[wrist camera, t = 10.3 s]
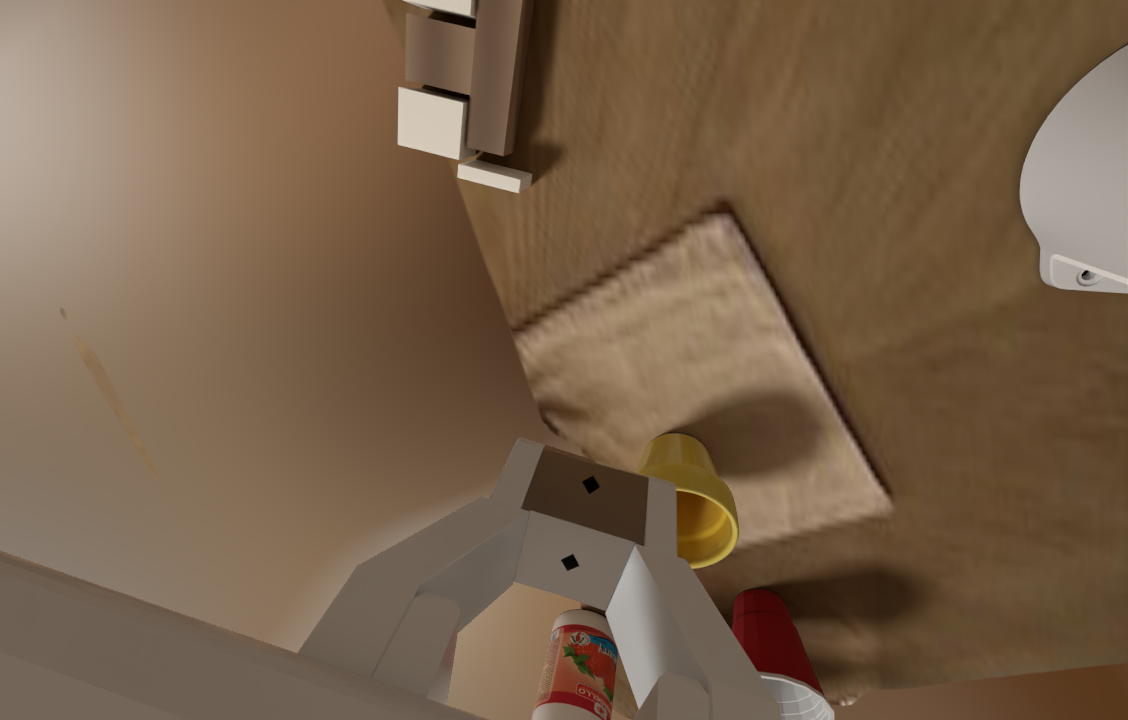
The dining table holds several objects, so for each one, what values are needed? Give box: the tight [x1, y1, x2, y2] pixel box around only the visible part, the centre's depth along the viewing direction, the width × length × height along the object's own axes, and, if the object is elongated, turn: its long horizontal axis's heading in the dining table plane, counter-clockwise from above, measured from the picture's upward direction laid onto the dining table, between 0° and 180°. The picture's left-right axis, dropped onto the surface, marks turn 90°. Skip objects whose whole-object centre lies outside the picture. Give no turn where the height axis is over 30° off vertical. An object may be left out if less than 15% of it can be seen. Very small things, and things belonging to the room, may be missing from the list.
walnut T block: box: [405, 0, 534, 156], centre depth 34 cm, size 8×11×3 cm
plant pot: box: [636, 433, 739, 569], centre depth 45 cm, size 10×10×10 cm
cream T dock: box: [398, 0, 532, 193], centre depth 34 cm, size 10×16×4 cm, turn 168°
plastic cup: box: [731, 589, 834, 720], centre depth 52 cm, size 11×11×12 cm
